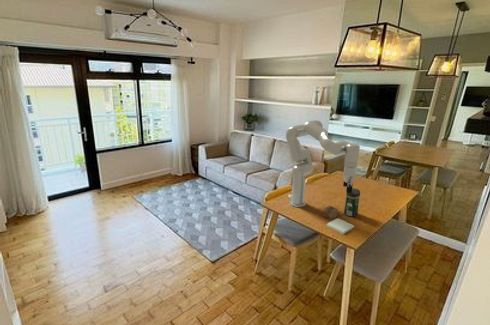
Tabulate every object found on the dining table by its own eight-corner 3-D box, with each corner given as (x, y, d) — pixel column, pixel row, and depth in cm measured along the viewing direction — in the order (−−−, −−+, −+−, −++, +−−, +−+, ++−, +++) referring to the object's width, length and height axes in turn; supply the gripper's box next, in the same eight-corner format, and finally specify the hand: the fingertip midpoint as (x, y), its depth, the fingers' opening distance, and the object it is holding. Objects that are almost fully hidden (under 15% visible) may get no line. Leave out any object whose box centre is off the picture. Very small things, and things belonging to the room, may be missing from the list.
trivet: (326, 226, 166) (326, 223, 166) (337, 220, 173) (337, 217, 173) (343, 234, 157) (343, 232, 157) (353, 227, 164) (353, 225, 164)
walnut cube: (323, 215, 179) (324, 208, 177) (329, 213, 182) (329, 205, 180) (331, 219, 174) (332, 211, 172) (336, 216, 178) (337, 208, 176)
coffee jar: (348, 209, 187) (351, 186, 181) (359, 213, 182) (362, 189, 176) (341, 214, 181) (344, 190, 175) (352, 218, 175) (356, 193, 170)
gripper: (341, 159, 165) (338, 183, 170) (347, 167, 149) (343, 194, 154) (353, 159, 164) (350, 184, 169) (360, 168, 148) (356, 195, 153)
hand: (347, 189), depth 162 cm, fingers open, 9 cm apart
